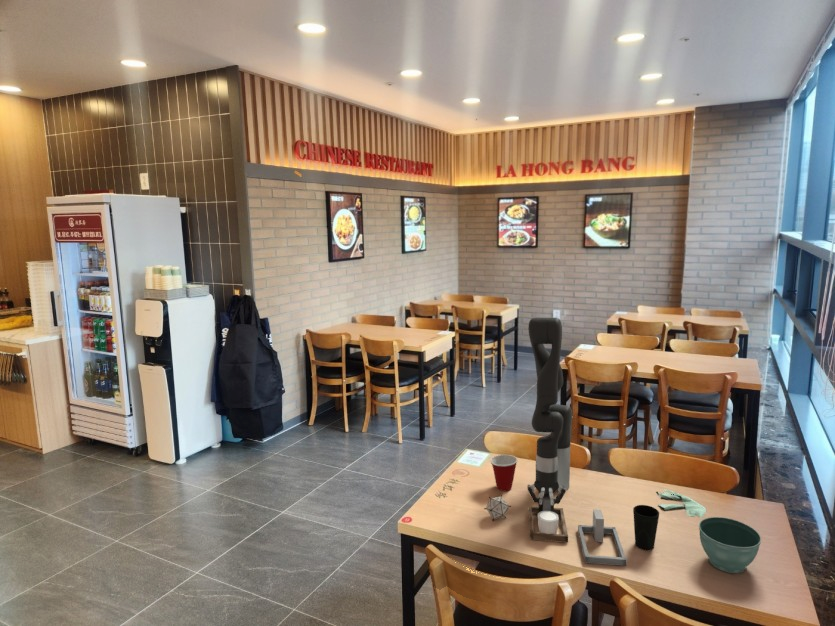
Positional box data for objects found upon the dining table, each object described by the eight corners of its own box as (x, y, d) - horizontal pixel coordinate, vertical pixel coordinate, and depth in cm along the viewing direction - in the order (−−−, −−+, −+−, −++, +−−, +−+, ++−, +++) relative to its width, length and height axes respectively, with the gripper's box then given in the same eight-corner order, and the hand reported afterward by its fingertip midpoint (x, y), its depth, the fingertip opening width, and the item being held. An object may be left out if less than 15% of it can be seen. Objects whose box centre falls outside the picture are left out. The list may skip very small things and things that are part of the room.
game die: (501, 529, 193) (510, 517, 186) (479, 519, 194) (486, 507, 187) (507, 507, 199) (515, 495, 192) (485, 498, 200) (493, 485, 193)
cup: (655, 555, 170) (657, 519, 168) (629, 548, 174) (631, 513, 172) (659, 542, 176) (661, 508, 174) (634, 536, 180) (635, 502, 178)
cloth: (711, 522, 189) (711, 516, 188) (642, 513, 196) (643, 507, 195) (701, 495, 208) (701, 489, 207) (639, 487, 215) (640, 481, 214)
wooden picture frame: (528, 511, 197) (528, 490, 196) (562, 513, 195) (563, 492, 194) (530, 539, 179) (530, 517, 178) (568, 542, 177) (568, 519, 176)
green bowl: (771, 579, 157) (774, 545, 156) (717, 583, 156) (720, 548, 154) (735, 547, 173) (737, 515, 171) (686, 550, 172) (688, 518, 170)
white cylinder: (559, 531, 184) (559, 512, 183) (557, 542, 178) (557, 522, 177) (538, 528, 187) (539, 509, 185) (535, 538, 180) (536, 519, 179)
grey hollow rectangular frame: (577, 530, 184) (578, 508, 183) (614, 532, 182) (615, 510, 181) (585, 562, 167) (585, 538, 165) (626, 565, 165) (627, 541, 163)
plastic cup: (496, 478, 223) (496, 451, 221) (521, 485, 217) (521, 456, 215) (485, 490, 214) (485, 461, 212) (511, 496, 208) (511, 467, 206)
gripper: (566, 463, 193) (565, 509, 195) (526, 461, 195) (525, 506, 198) (568, 472, 185) (567, 520, 188) (526, 470, 188) (526, 517, 190)
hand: (546, 513), depth 193 cm, fingers closed on wooden picture frame, 2 cm apart
